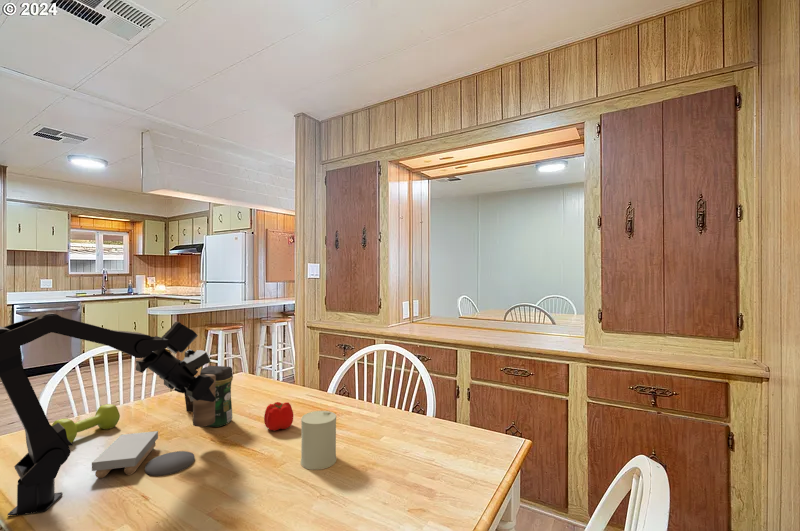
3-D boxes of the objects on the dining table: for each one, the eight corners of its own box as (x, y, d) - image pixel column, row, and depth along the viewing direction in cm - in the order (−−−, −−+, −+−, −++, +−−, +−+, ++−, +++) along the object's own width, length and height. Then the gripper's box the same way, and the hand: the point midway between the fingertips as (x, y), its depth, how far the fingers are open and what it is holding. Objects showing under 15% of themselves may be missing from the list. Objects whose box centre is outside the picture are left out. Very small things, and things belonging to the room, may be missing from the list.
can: (343, 457, 102) (343, 412, 103) (319, 473, 94) (320, 424, 95) (317, 449, 107) (317, 406, 107) (293, 464, 99) (293, 417, 99)
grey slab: (135, 475, 93) (135, 457, 93) (91, 481, 91) (91, 462, 91) (157, 446, 109) (158, 431, 109) (121, 450, 106) (121, 434, 106)
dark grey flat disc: (188, 472, 95) (188, 469, 95) (137, 478, 92) (137, 475, 92) (199, 451, 106) (199, 449, 106) (153, 456, 103) (153, 453, 103)
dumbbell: (64, 450, 107) (64, 424, 107) (45, 445, 109) (45, 420, 109) (122, 427, 122) (123, 404, 123) (105, 423, 125) (105, 401, 125)
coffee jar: (194, 427, 122) (194, 368, 122) (210, 417, 130) (210, 362, 130) (222, 429, 121) (222, 370, 121) (236, 419, 129) (236, 363, 129)
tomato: (294, 431, 119) (295, 407, 119) (264, 435, 116) (264, 410, 116) (291, 420, 128) (291, 397, 128) (263, 424, 125) (263, 401, 125)
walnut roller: (212, 425, 107) (213, 378, 107) (190, 427, 106) (191, 380, 106) (216, 418, 113) (217, 373, 113) (195, 419, 111) (196, 374, 111)
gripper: (207, 346, 101) (245, 379, 109) (176, 338, 112) (213, 369, 121) (174, 383, 94) (217, 415, 103) (145, 371, 106) (186, 400, 114)
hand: (209, 398), depth 110 cm, fingers closed on walnut roller, 6 cm apart
